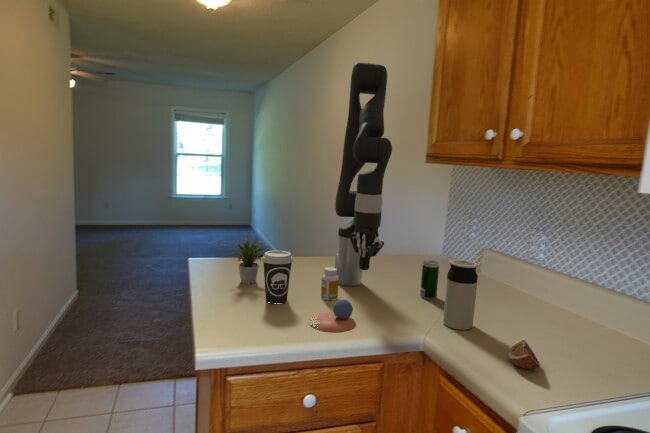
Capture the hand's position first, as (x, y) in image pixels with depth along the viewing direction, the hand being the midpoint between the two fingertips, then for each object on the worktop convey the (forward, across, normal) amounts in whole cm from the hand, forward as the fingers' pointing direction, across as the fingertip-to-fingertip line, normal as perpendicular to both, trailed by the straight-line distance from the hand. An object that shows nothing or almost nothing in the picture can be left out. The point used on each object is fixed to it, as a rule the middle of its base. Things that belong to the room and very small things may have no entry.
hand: (363, 269), depth 120 cm
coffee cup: (+14, +21, +16) cm, 30 cm away
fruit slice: (+13, -42, -12) cm, 46 cm away
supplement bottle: (+14, +16, 0) cm, 21 cm away
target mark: (+14, -1, +11) cm, 17 cm away
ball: (+11, 0, +7) cm, 13 cm away
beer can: (+14, +1, -30) cm, 33 cm away
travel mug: (+14, -19, -19) cm, 30 cm away
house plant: (+14, +41, +16) cm, 47 cm away
